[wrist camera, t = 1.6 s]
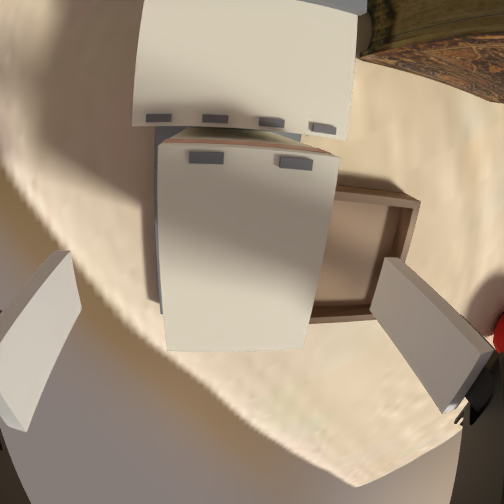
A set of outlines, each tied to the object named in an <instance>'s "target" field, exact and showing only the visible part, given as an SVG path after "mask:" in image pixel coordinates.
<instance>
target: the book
mask: <svg viewBox="0 0 504 504" xmlns="http://www.w3.org/2000/svg"><path fill="white" fill-rule="evenodd" d="M367 9H368V11H369V13H370V15H371V18H372V24H373V34H372V39H371V42H370V44H369V47H368V49H367V50H365V51H363V52H361V53H360V60H362V61H366V62H370V63H374V64H379V65H383V66H387V67H390V68H394V69H398V70H402V71H405V72H409V73H412V74H416V75H419V76H422V77H426V78H429V79H432V80H435V81H438V82H441V83H444V84H447V85H450V86H452V87H455V88H458V89H460V90H463V91H466V92H468V93H471V94H473V95H476V96H478V97H480V98H483V99H485V100H487V101H490V102H497V103H503V104H504V0H367Z"/></svg>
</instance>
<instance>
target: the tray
mask: <svg viewBox="0 0 504 504" xmlns="http://www.w3.org/2000/svg"><path fill="white" fill-rule="evenodd" d="M420 203H421V202H420V201H419V200H417V199H415V198H413V197H411V196H409V195H407V194H404V193H397V192H390V191H382V190H375V189H367V188H358V187H350V186H341V185H336V189H335V195H334V201H333V207H332V213H331V219H330V224H329V230H328V235H327V241H326V246H325V251H324V256H323V261H322V266H321V271H320V276H319V280H318V285H317V290H316V294H315V299H314V303H313V308H312V312H311V316H310V321H309V324H317V323H335V322H350V321H364V320H376V318H375V317H374V315H373V314H372V313H371V311H370V310H369V309H370V306H371V303H372V300H373V297H374V293H375V290H376V287H377V283H378V280H379V276H380V273H381V269H382V265H383V262H384V258H385V257H392V258H399V259H400V260H402V261H403V262H404V263H405V260H406V257H407V254H408V250H409V247H410V243H411V239H412V236H413V232H414V228H415V224H416V220H417V216H418V212H419V208H420Z"/></svg>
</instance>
